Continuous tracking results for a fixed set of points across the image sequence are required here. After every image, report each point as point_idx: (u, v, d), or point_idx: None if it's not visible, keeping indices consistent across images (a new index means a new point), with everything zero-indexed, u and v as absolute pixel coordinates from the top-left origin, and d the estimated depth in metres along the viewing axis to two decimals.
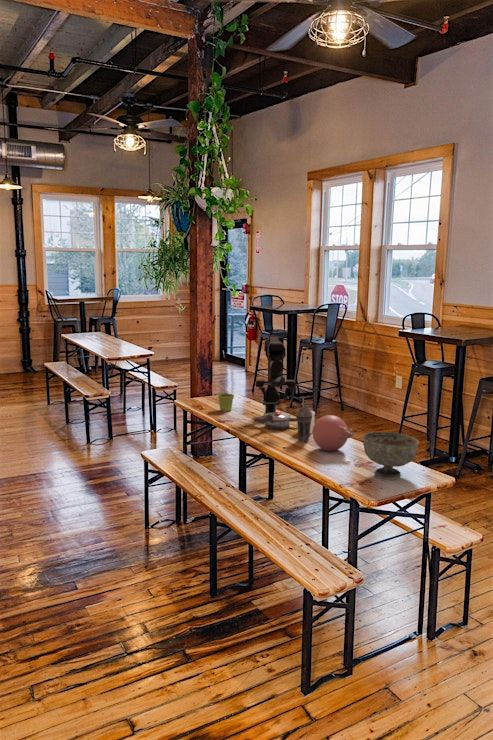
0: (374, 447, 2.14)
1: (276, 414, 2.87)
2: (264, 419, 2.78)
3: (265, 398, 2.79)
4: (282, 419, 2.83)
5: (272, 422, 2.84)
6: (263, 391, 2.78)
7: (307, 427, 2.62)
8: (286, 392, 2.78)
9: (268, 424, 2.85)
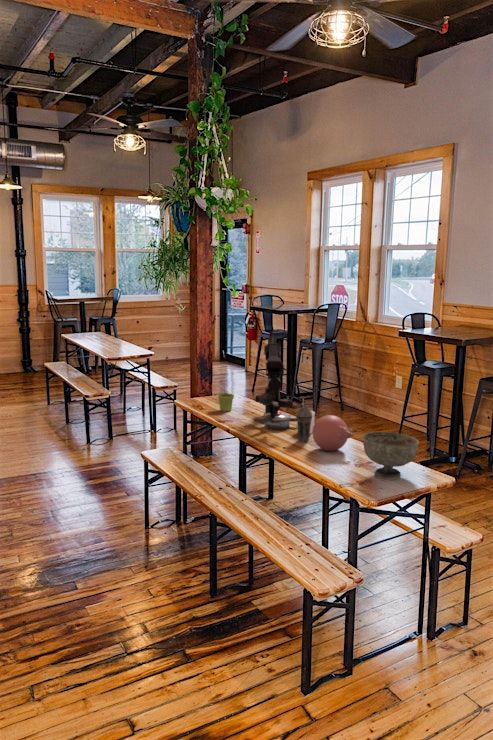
0: (374, 447, 2.14)
1: (276, 414, 2.87)
2: (264, 419, 2.78)
3: (271, 416, 2.76)
4: (282, 419, 2.83)
5: (272, 422, 2.84)
6: (269, 408, 2.75)
7: (307, 427, 2.62)
8: (273, 410, 2.74)
9: (268, 424, 2.85)
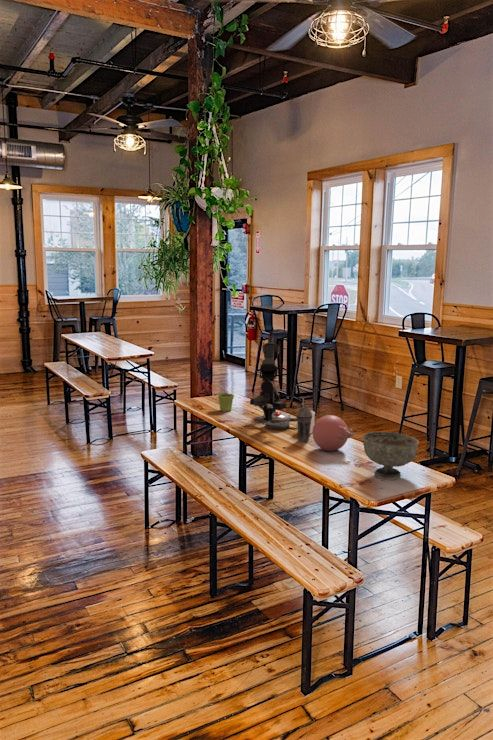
0: (374, 447, 2.14)
1: (276, 414, 2.87)
2: (263, 419, 2.78)
3: (266, 418, 2.78)
4: (282, 419, 2.82)
5: (272, 422, 2.84)
6: (264, 411, 2.78)
7: (307, 427, 2.62)
8: (267, 412, 2.77)
9: (268, 424, 2.85)
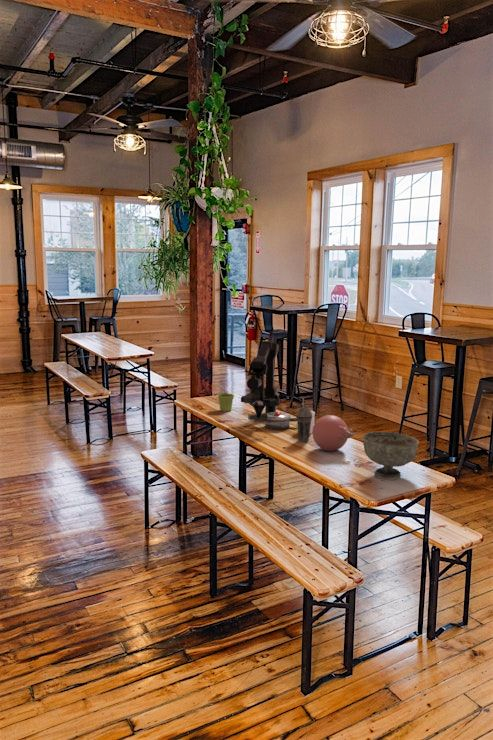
0: (374, 447, 2.14)
1: (275, 414, 2.88)
2: (254, 416, 2.83)
3: (257, 415, 2.82)
4: (274, 419, 2.82)
5: (272, 422, 2.84)
6: (255, 408, 2.82)
7: (307, 427, 2.62)
8: (257, 409, 2.81)
9: (268, 424, 2.85)
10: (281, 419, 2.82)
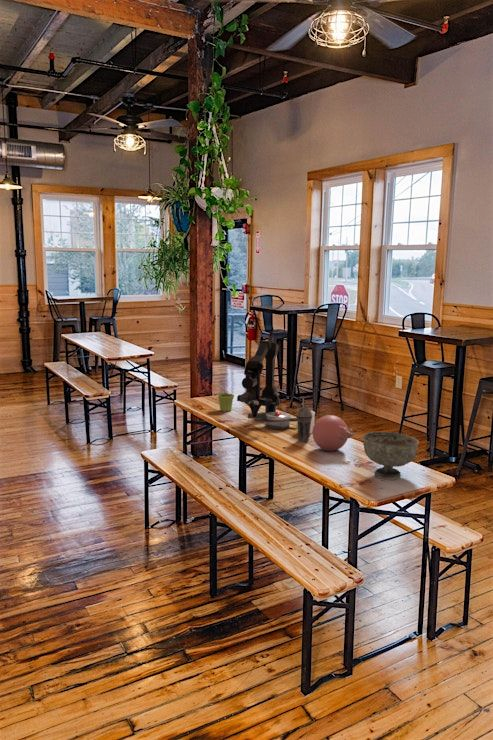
0: (374, 447, 2.14)
1: (275, 414, 2.88)
2: (252, 415, 2.86)
3: (253, 414, 2.84)
4: (272, 419, 2.83)
5: (272, 422, 2.84)
6: (250, 407, 2.83)
7: (307, 427, 2.62)
8: (253, 408, 2.82)
9: (268, 424, 2.85)
10: (278, 419, 2.82)
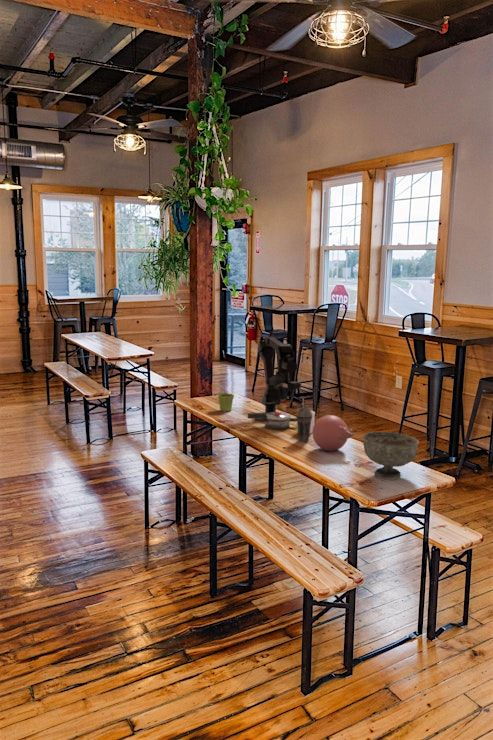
0: (374, 447, 2.14)
1: (275, 414, 2.88)
2: (252, 415, 2.86)
3: (281, 397, 2.93)
4: (272, 419, 2.83)
5: (272, 422, 2.84)
6: (279, 390, 2.92)
7: (307, 427, 2.62)
8: (282, 391, 2.91)
9: (268, 424, 2.85)
10: (278, 419, 2.82)
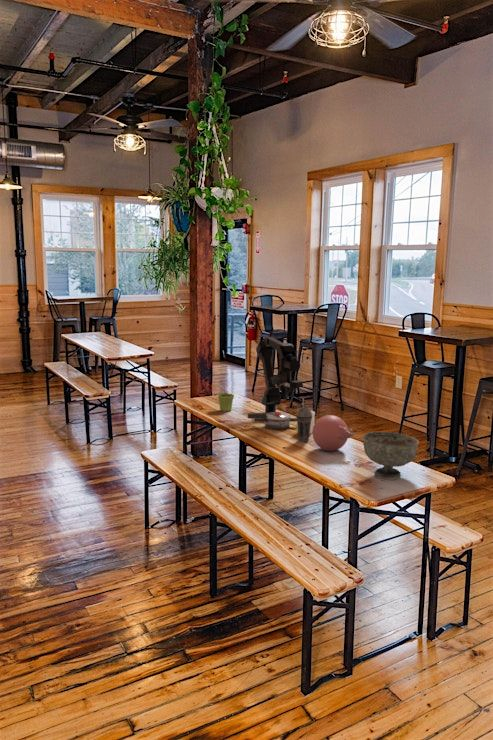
0: (374, 447, 2.14)
1: (275, 414, 2.88)
2: (252, 415, 2.86)
3: (283, 396, 2.94)
4: (272, 419, 2.83)
5: (272, 422, 2.84)
6: (281, 389, 2.93)
7: (307, 427, 2.62)
8: (284, 390, 2.92)
9: (268, 424, 2.85)
10: (278, 419, 2.82)
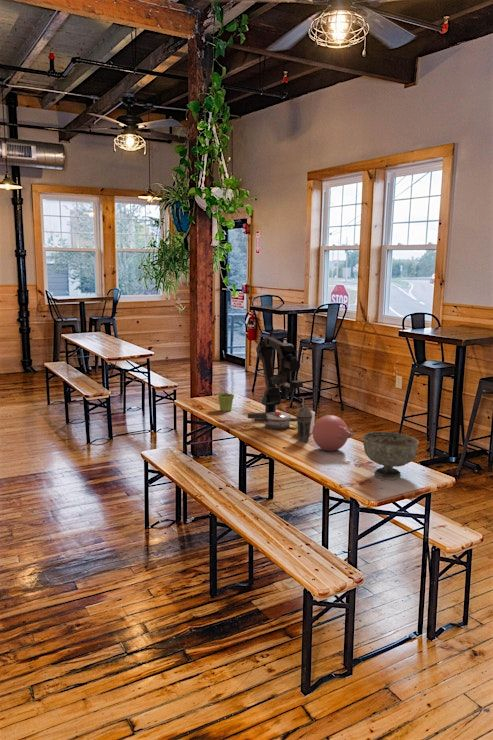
0: (374, 447, 2.14)
1: (275, 414, 2.88)
2: (252, 415, 2.86)
3: (283, 396, 2.94)
4: (272, 419, 2.83)
5: (272, 422, 2.84)
6: (281, 389, 2.93)
7: (307, 427, 2.62)
8: (284, 390, 2.92)
9: (268, 424, 2.85)
10: (278, 419, 2.82)
